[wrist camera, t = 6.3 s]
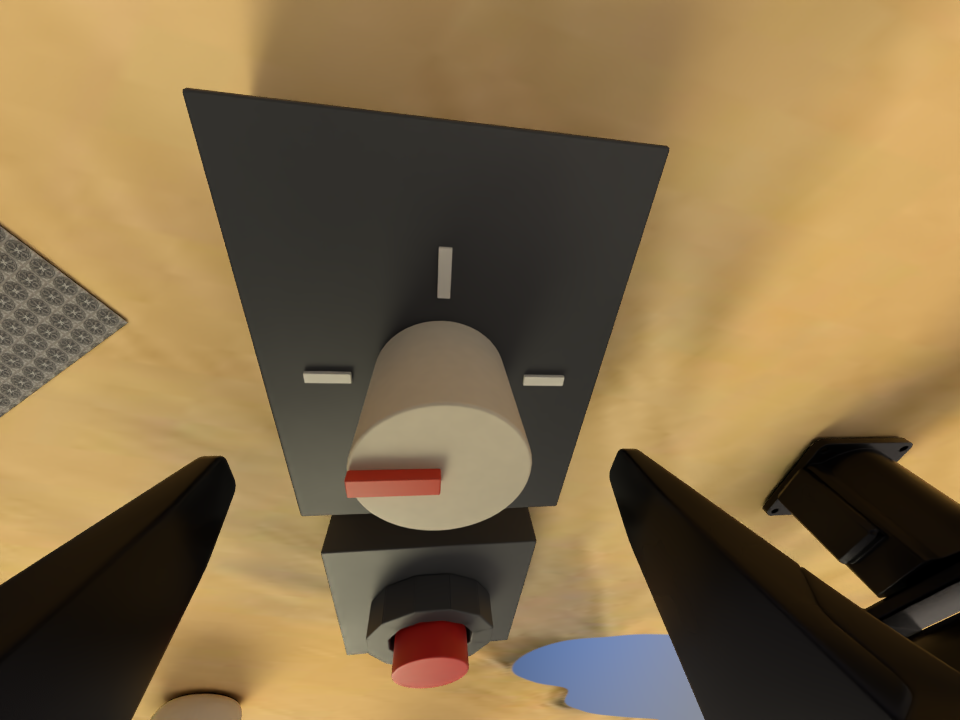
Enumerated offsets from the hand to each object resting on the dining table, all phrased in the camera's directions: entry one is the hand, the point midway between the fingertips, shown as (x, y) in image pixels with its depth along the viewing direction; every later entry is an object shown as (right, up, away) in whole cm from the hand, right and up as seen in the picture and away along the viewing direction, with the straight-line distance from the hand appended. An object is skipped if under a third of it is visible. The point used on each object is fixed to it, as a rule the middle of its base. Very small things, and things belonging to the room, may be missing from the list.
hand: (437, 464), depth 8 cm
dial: (0, +2, +3) cm, 4 cm away
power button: (-2, -13, +11) cm, 17 cm away
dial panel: (-1, +3, +6) cm, 7 cm away
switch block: (-2, -11, +14) cm, 18 cm away
